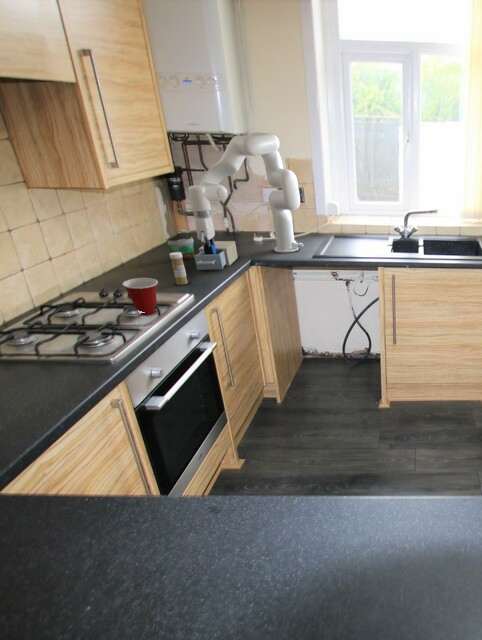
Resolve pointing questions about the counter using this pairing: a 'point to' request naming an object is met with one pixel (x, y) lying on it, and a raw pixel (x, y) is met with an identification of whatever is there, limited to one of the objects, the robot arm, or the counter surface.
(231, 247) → the cream drawer box
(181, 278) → the sprinkles bottle
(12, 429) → the counter surface
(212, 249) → the blue cube
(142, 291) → the plastic cup
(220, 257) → the grey drawer
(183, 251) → the food container
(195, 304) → the counter surface
